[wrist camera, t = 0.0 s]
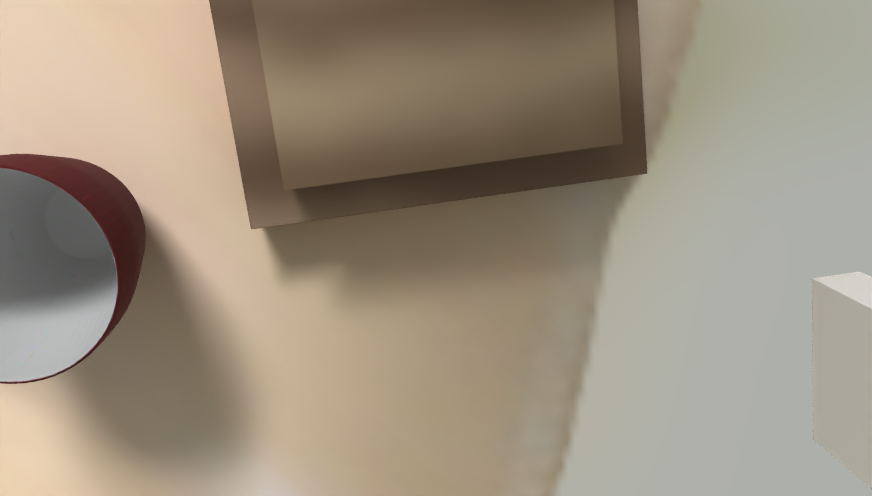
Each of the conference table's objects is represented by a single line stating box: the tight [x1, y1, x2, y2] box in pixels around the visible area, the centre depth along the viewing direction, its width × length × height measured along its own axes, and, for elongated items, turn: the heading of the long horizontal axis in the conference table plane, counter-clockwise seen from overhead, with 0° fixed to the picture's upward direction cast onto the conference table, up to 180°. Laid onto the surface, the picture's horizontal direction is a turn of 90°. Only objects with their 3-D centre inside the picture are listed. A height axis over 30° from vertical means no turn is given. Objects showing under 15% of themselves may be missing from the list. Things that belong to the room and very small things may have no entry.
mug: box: [0, 154, 145, 384], centre depth 34 cm, size 11×8×10 cm
